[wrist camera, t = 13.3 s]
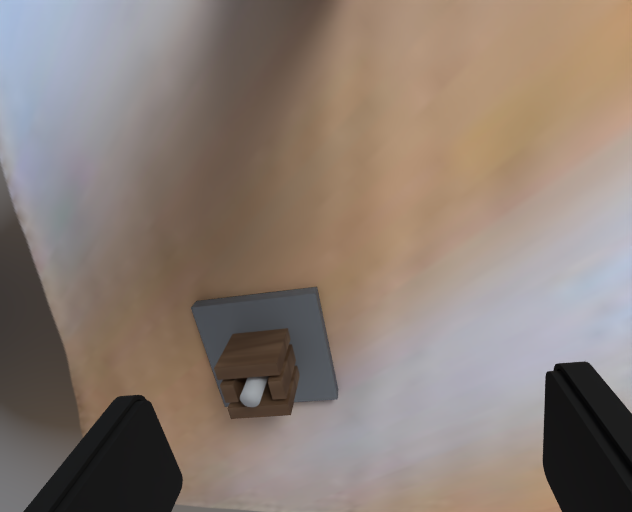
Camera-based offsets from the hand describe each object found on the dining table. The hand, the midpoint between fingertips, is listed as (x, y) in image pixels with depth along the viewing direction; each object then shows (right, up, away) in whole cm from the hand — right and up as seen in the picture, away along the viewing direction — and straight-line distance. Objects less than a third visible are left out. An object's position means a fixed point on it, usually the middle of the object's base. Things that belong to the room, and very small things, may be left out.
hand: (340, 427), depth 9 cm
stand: (-6, -7, +36) cm, 38 cm away
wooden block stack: (-6, -7, +35) cm, 36 cm away
